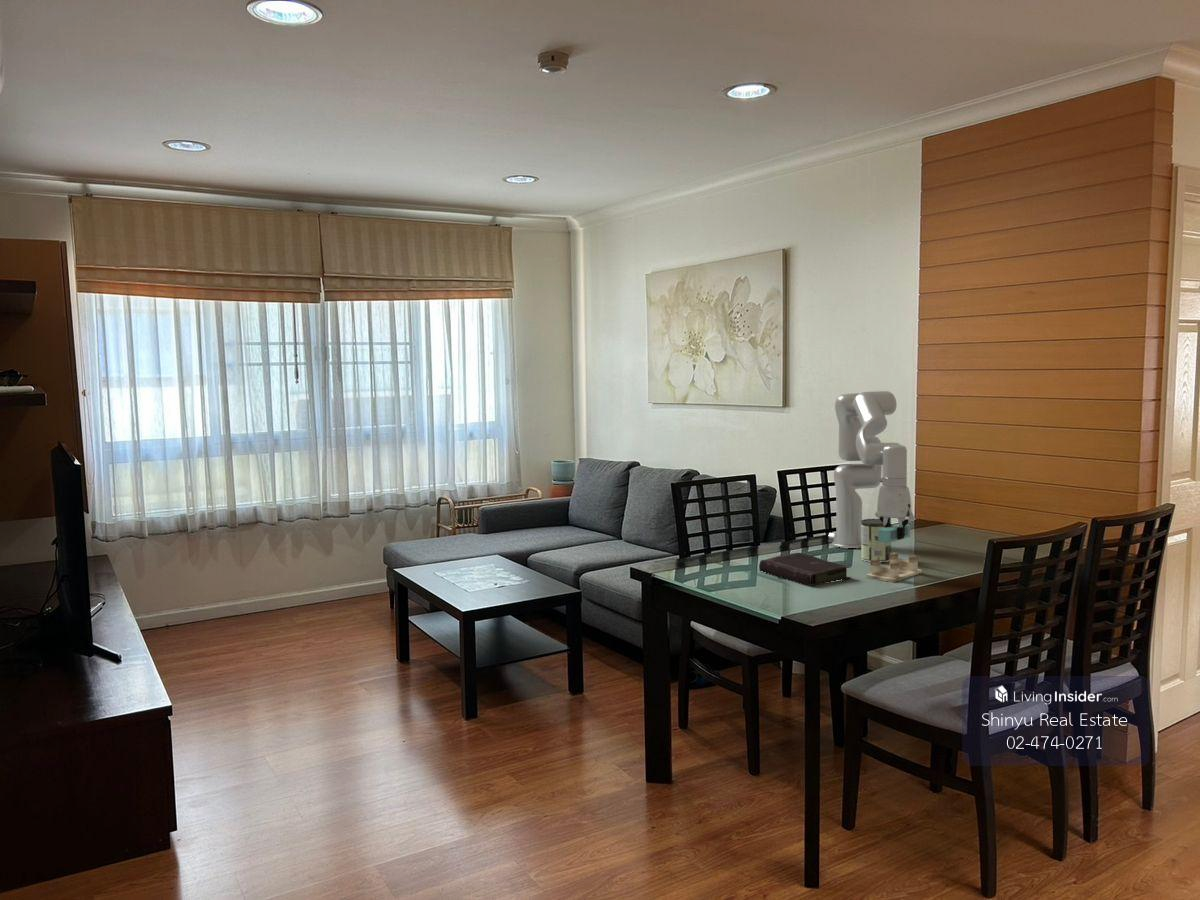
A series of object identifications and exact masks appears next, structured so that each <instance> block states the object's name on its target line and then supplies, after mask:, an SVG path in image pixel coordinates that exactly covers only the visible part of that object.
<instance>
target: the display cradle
mask: <svg viewBox="0 0 1200 900" xmlns="http://www.w3.org/2000/svg"><path fill="white" fill-rule="evenodd" d="M918 559H919V558H918V555H910V556H908V559H905V558H900V557H899V552H891V554H890V562H888V563H889V565H886V564H881V563H880V559H876V558H875V559H872V560H871V563H870V573H867V574H865V578H866V579H871V578H872V579H871V580H876V579H877V580H876V581H882V580H883V581H882V582H887V581H888V582H889V583H893V582H894V583H893V584H895V583H897V581H898V582H900V581H902V579H903V580H906V579H908V577H909V578H911V577H913V575H914V576H916V574H917V575H919V573H920V574H922V573H923V570H922V568H921V569H920V568H918V565H919V563H918V561H919V560H918ZM921 572H922V573H921ZM910 576H911V577H910ZM905 578H906V579H905Z"/></svg>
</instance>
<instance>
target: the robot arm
mask: <svg viewBox="0 0 1200 900" xmlns="http://www.w3.org/2000/svg"><path fill="white" fill-rule="evenodd" d="M834 405H835V406H834V409H835V410H834V411H835V415H836V417H837V420H838V456H839V458H840V459H841V460H842V461H846V462H859V461H860V462H861V463H849V464H848V463H845V464H840V465H838V466H837V467H836V468H834V471H833V481H834V487H835V498H836V500H835V502H836V504H835V505H836V510H835V511H836V513H835V514H836V516H835V517H836V520H835V521H836V532H829V533H828V536H827V537H828V538H829V539H833V541H832V543H831V544H832V546H833V547H834V548H839V547H840V548H839V549H848V548H856V549H861V520H863V500H862V497H861V496H860V495H859V493H858V492H857V491H856V490H859V489H861V490H862V489H865V490H866V489H876V488H878V487H879V490H878V496H877V505H876V509H877V510H876V512H875V514H874V516H875V517H876V519H880V520H881V521H882V523H883V525H884V526H885V528H886V527H890V526H893V525H892V519H897V521H898V524H899V527H898V528H897V539H901V540H904V539H905V538H904V536H905V526H906V525H909V524H910V523H911V522H913V521H915V519H916V517H915V515H914V514H913V512H912V500H911V492H910V488H909V487H908V477H907V476H908V472H907V471H908V469H907V468H908V466H907V464H908V462H907V461H908V455H907V454H908V453H907V452H908V449H907V447H906V446H905V445H903V444H900V443H898V442H881V440H880V438H879V437H877V435H880V434H881V433H883V432H884V431H885V430H886V428H887V426H888V420H887V418H886V416H889V415H890V416H891V415H892V414H894V413H895V412H896V410H897V400H896V397H895V395H894V394H893V393H892V392H891V391H889V390H888V391H886V390H884V391H883V390H881V391H879V390H878V391H863V392H860V393H858V392H857V393H856V392H855V393H844V394H841V395H839V396H838V397H837V398H836V399H835V403H834ZM881 483H882V484H881ZM880 485H881V486H880ZM890 523H891V525H890ZM903 538H904V539H903Z"/></svg>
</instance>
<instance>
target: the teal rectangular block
mask: <svg viewBox="0 0 1200 900" xmlns="http://www.w3.org/2000/svg"><path fill="white" fill-rule="evenodd" d="M898 527H899V523H898V524H897V523H896V524H894V525H892V526H890V527H886V528H883V529H879V530H878V542H884V543H890V542H891V543H894V542H896V541H899V540H900V541H901V540H904V539H907V538H910V537H911V524H907V525H906V526H905V536H904V538H903V539H897V528H898Z"/></svg>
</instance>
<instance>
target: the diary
mask: <svg viewBox="0 0 1200 900" xmlns="http://www.w3.org/2000/svg"><path fill="white" fill-rule="evenodd" d="M849 568H850V569H851V568H852V567H851V566H847V565H845V564H842V563H837V562H834V561H828V560H825V559H822V558H820V557H816V556H813V555H810V554H806V553H803V552H795V553H794V552H793V553H788V554H783V555H778V556H774V557H769V558H767V559H761V560H760V561H759V564H758V569H759V571H763V572H766V573H765V574H767V573H769V574H768V575H770V574H772V575H771V576H774V575H775V576H774V577H777V576H778V577H777V578H780V577H782V578H781V579H783V578H784V580H786V579H788V580H787V581H790V580H791V581H790V582H793V581H795V582H794V583H797V582H798V583H797V584H800V583H801V584H800V585H803V584H804V585H803V586H806V585H807V586H806V587H810V586H815V584H817V585H821V584H820V583H823V584H826V583H825V582H831V581H836V580H841V579H842V580H843V581H847V580H846V579H848V580H850V579H851V578H852V576H847V575H848V574H847V573H848V572H847V571H848V570H847V569H849ZM763 572H762V573H763ZM811 584H812V585H811Z"/></svg>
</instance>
